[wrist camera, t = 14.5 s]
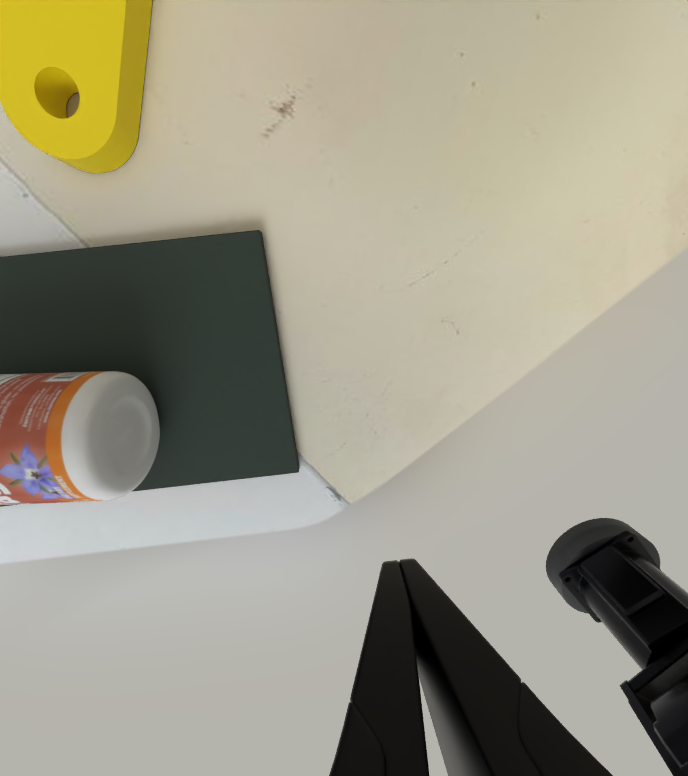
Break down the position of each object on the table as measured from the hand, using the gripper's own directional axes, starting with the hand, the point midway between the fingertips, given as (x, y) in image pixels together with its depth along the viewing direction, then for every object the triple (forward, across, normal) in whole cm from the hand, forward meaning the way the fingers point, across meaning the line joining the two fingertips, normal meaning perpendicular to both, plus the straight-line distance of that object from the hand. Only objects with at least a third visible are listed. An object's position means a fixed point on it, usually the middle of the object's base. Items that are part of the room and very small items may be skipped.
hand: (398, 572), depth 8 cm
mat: (+12, +17, -4) cm, 21 cm away
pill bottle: (+8, +11, -2) cm, 14 cm away
